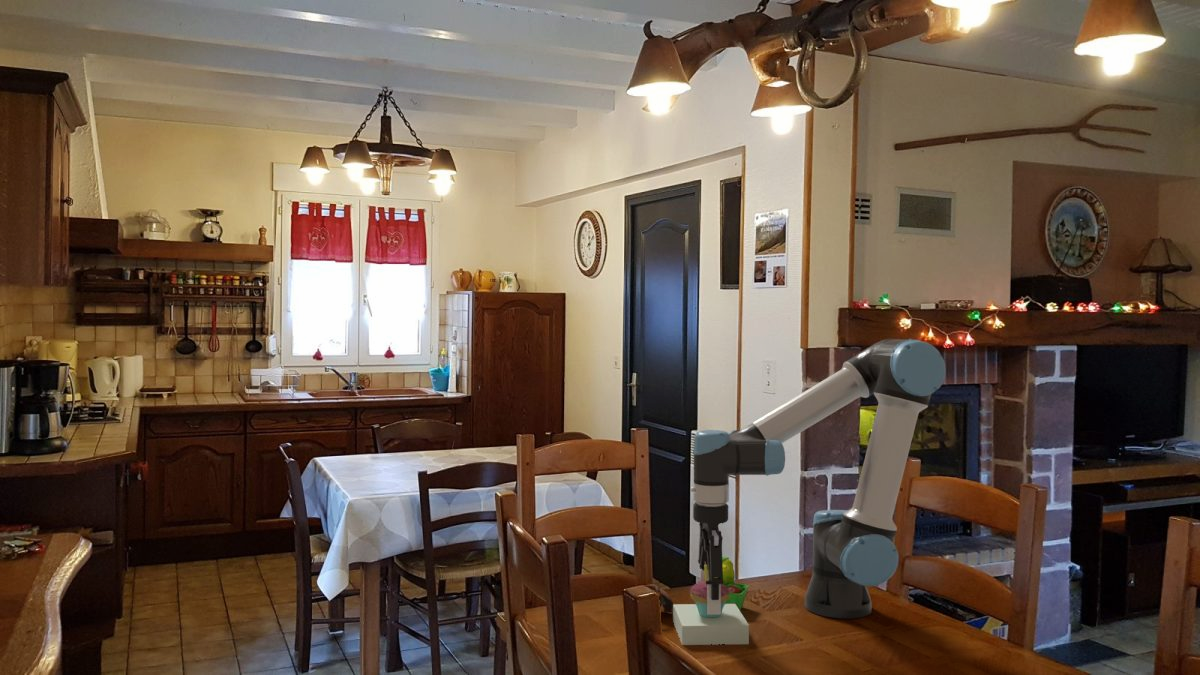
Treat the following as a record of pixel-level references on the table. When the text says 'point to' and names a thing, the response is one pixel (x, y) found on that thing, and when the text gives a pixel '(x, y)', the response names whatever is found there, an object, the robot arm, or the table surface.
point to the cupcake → (701, 596)
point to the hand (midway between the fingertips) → (709, 606)
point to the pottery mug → (663, 598)
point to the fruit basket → (733, 584)
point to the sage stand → (710, 626)
